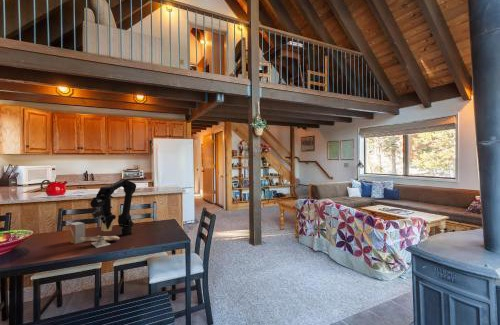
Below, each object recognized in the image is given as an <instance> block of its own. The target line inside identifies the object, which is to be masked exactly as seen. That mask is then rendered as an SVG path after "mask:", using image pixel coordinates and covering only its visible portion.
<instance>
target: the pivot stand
mask: <svg viewBox="0 0 500 325" xmlns="http://www.w3.org/2000/svg"><path fill="white" fill-rule="evenodd" d="M96 237H101V235H99V234H98V235H97V236H96ZM91 245H92V246H94V247H95V248H97V249H98V248H102V247H107V246H110V245H111V243H109V242H108V240H104V238H102V240H97V241H94V242H93V241H92V242H91Z"/></svg>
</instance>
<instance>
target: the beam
mask: <svg viewBox="0 0 500 325" xmlns="http://www.w3.org/2000/svg"><path fill="white" fill-rule="evenodd" d="M102 238H104V240H105V241H113V240H114V241H115V240H117V241H118V240H120V237H119V236H118V235H108V236H106V235H105V236H103V235H102V236H101V235H100V237H97V236H85V237H80V239H81V240H82V241H85V242H90V241H91V242H93V241H94V242H96V241H97V240H102Z"/></svg>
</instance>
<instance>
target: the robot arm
mask: <svg viewBox="0 0 500 325" xmlns="http://www.w3.org/2000/svg"><path fill="white" fill-rule="evenodd" d="M119 188H123V192H124V201H123V205H122V206H123V207H122V212H121V214H118V217H117V216H116V215H115V214H113V213H112V209H113V207H112V198H114V196H112V194H114V193H115V191H116V190H118V189H119ZM136 189H137V184H136V183H135V182H132V181H131V180H128V179H126V178H123V179H122V178H121V179H119V180H118V181H116V182H114V183H112V184H110V185H104V186H101V187H100V188H99V190H98V192H97V193H96V195H95V197H92V200H91V201H90V203H89V204H90V207H91V208H93V209H98V208H99V209H98V210H94V211H93V212H91V217H92V218H94V219H97V218H99V220H101V223H106V228H107V229H109V227H110V225H111V224H113V221H114V220H116V219H117V223H118V226H119V227H120V235H121V236H123V237H125V236H129V235H132V234H133V233H132V227H133V226H134V222H133V220H132V215H131V212H130V210H131V206H132V205H131V204H132V200H133V195H134V193H135V192H136Z"/></svg>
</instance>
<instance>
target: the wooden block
mask: <svg viewBox="0 0 500 325" xmlns="http://www.w3.org/2000/svg"><path fill="white" fill-rule="evenodd" d="M100 231H103V232H112V231H113V223H111V225H110V227H109V229H107V228H106V223H103V222H101V229H100Z"/></svg>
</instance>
